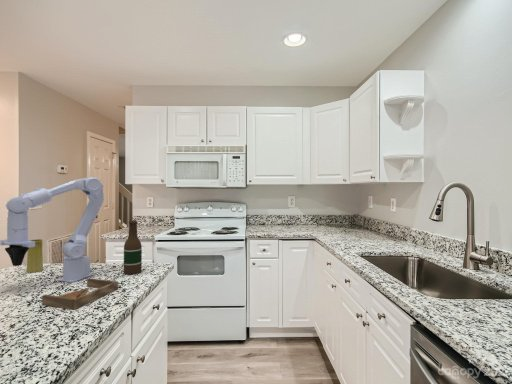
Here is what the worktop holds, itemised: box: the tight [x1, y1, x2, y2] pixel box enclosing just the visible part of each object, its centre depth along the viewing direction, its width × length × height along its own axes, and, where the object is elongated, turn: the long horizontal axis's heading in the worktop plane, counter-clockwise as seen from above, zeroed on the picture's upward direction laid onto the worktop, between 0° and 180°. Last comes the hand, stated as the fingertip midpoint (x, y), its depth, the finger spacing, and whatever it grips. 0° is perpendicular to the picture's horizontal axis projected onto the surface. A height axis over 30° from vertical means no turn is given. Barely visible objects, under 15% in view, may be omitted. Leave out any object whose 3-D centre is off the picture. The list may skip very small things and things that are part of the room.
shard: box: [58, 287, 90, 299], centre depth 92 cm, size 11×8×2 cm
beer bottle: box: [123, 219, 143, 276], centre depth 121 cm, size 8×8×24 cm
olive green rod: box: [25, 238, 44, 274], centre depth 122 cm, size 6×6×14 cm
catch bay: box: [41, 277, 119, 310], centre depth 93 cm, size 18×14×3 cm
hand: (17, 265), depth 98 cm, fingers closed
